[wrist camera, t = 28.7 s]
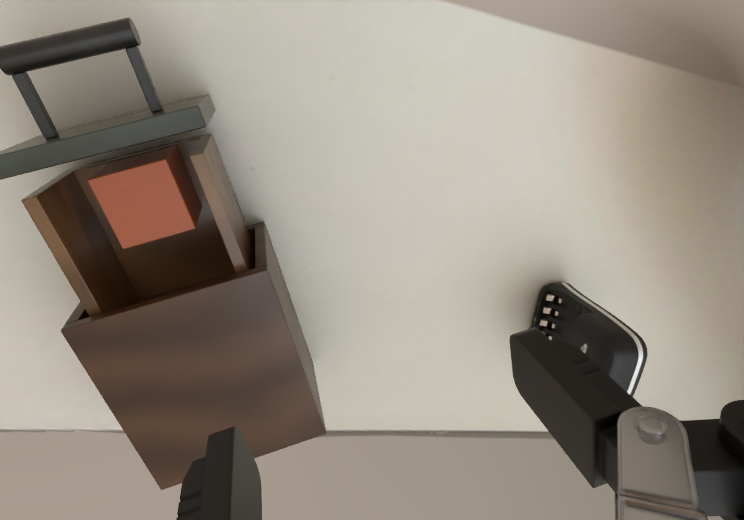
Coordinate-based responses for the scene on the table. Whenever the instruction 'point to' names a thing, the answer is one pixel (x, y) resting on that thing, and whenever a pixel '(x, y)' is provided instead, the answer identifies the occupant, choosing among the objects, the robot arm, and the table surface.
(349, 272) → the table surface
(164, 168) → the block
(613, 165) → the table surface
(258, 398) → the cabinet
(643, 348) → the battery charger
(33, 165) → the drawer
